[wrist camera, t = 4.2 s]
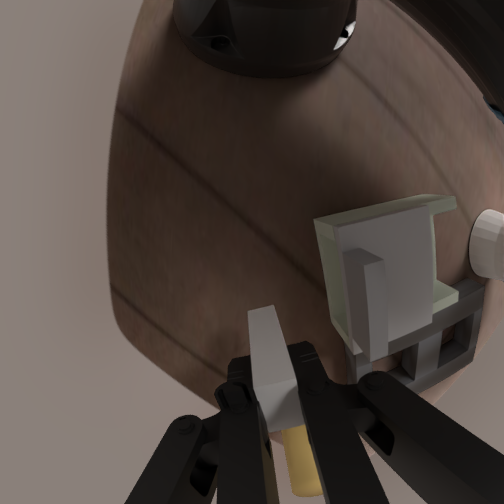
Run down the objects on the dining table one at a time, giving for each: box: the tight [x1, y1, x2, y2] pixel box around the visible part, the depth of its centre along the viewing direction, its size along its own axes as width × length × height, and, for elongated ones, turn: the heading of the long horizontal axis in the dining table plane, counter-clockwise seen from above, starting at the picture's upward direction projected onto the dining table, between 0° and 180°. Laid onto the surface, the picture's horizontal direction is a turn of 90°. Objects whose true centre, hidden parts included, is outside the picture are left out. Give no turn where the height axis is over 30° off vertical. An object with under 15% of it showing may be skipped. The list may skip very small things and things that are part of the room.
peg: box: [281, 425, 323, 497], centre depth 17 cm, size 4×4×12 cm
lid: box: [333, 205, 433, 362], centre depth 15 cm, size 9×7×4 cm
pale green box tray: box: [313, 194, 459, 348], centre depth 19 cm, size 9×11×4 cm
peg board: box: [344, 278, 485, 394], centre depth 22 cm, size 10×16×3 cm, turn 104°
